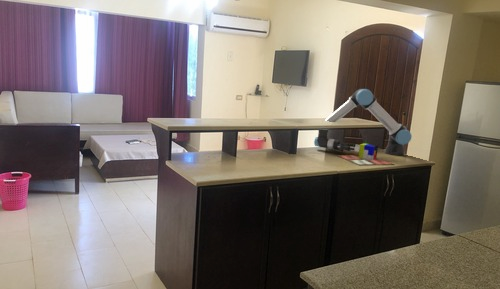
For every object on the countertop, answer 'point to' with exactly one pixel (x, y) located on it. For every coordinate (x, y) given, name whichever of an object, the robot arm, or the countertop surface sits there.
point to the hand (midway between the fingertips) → (361, 148)
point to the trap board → (364, 162)
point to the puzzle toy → (368, 151)
